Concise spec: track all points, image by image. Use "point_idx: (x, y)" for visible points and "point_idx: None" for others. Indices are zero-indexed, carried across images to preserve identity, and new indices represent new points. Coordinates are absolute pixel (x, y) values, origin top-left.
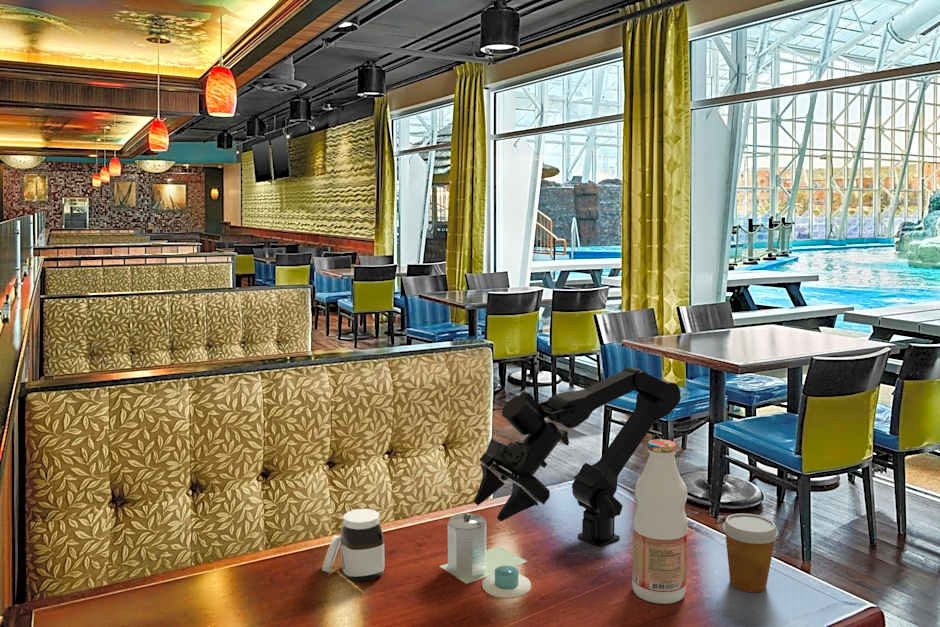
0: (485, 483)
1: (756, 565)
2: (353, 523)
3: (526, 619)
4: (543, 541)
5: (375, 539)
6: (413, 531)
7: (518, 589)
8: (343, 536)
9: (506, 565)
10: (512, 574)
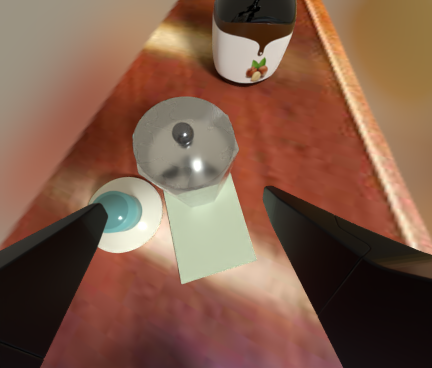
0: (330, 243)
1: None
2: None
3: (33, 200)
4: (253, 362)
5: (219, 7)
6: (348, 153)
7: None
8: None
9: (129, 220)
10: None
